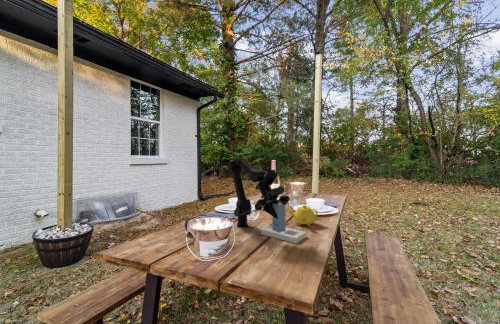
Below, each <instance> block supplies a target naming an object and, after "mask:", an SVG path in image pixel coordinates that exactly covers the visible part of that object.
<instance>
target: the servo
mask: <svg viewBox="0 0 500 324" xmlns="http://www.w3.org/2000/svg"><path fill="white" fill-rule="evenodd" d="M273 208H274V210H275V212H276V214H277V217H278V218H277V219H276V218H274V217H273V216H272V215H271V219H272V223H270V224H268V226H271V227H272V230H274V231H276V232H278V233H280V232H283V231H286V229H285V227H287V226H289V223H287V222H286V205H284V204H282V203H277V204H273Z"/></svg>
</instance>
